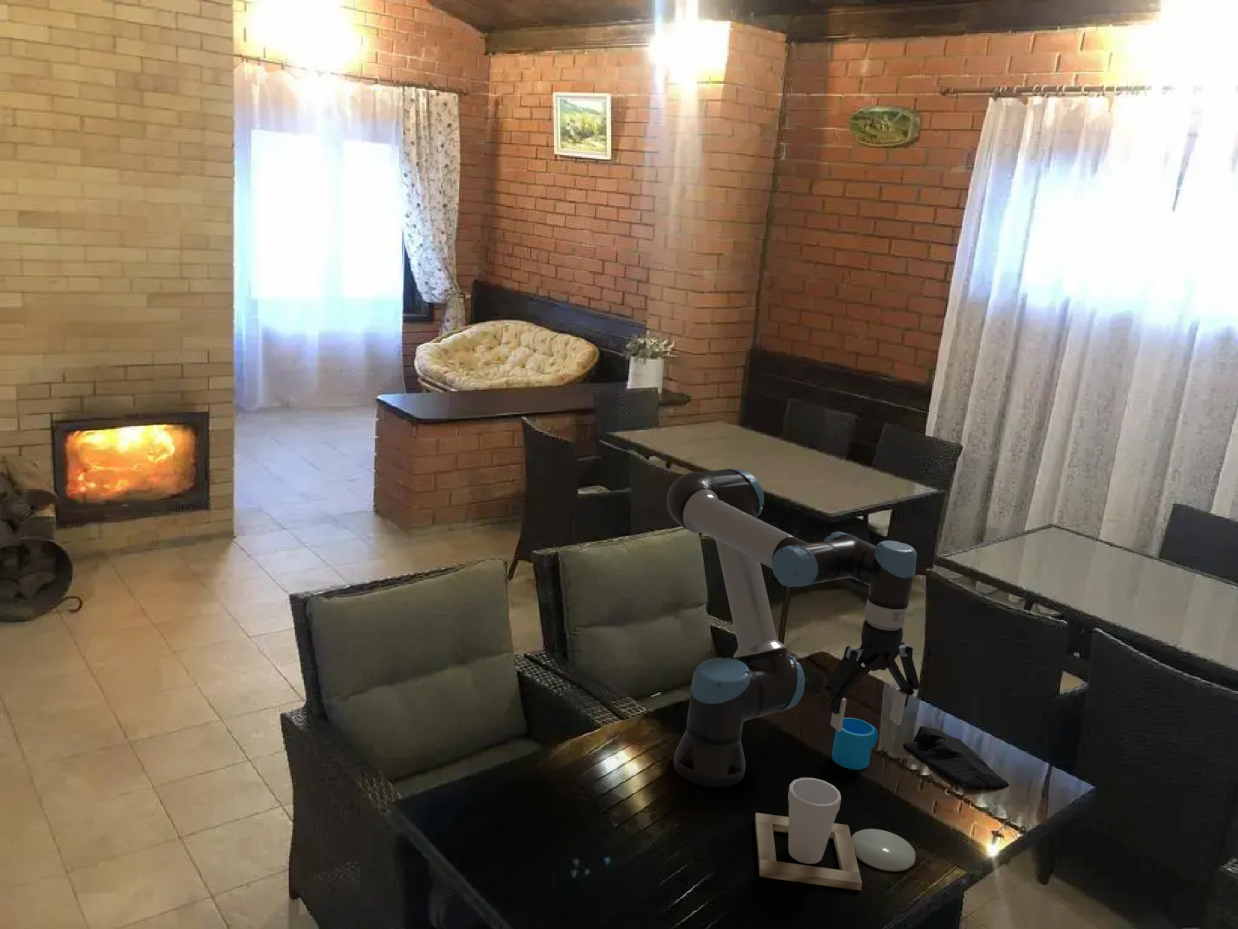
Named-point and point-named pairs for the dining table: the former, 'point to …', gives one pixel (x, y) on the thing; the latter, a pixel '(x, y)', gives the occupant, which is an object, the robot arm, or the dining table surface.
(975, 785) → the black fabric pouch
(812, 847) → the foam cup
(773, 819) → the birch pocket board
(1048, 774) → the dining table surface
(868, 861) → the pale grey-green round part
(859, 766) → the mug
